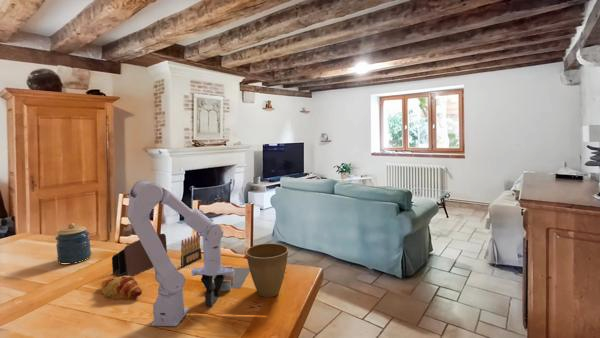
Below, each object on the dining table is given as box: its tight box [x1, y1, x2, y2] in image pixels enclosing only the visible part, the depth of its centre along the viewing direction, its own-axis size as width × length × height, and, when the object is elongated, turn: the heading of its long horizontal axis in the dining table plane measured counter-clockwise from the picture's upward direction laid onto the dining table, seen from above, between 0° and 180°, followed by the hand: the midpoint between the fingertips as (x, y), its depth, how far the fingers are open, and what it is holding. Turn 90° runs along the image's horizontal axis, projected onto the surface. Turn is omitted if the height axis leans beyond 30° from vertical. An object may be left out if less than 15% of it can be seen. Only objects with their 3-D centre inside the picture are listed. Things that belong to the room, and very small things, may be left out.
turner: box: [204, 280, 232, 308], centre depth 111 cm, size 12×8×5 cm
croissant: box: [100, 276, 143, 300], centre depth 116 cm, size 21×10×8 cm
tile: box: [215, 264, 234, 285], centre depth 121 cm, size 2×7×7 cm, turn 85°
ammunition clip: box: [180, 233, 202, 268], centre depth 143 cm, size 11×2×12 cm, turn 153°
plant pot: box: [245, 242, 289, 298], centre depth 114 cm, size 15×15×16 cm
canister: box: [55, 222, 92, 264], centre depth 149 cm, size 13×13×18 cm
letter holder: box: [111, 233, 168, 277], centre depth 139 cm, size 10×20×14 cm, turn 153°
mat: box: [203, 267, 250, 290], centre depth 127 cm, size 18×14×1 cm
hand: (214, 295), depth 110 cm, fingers closed on turner
